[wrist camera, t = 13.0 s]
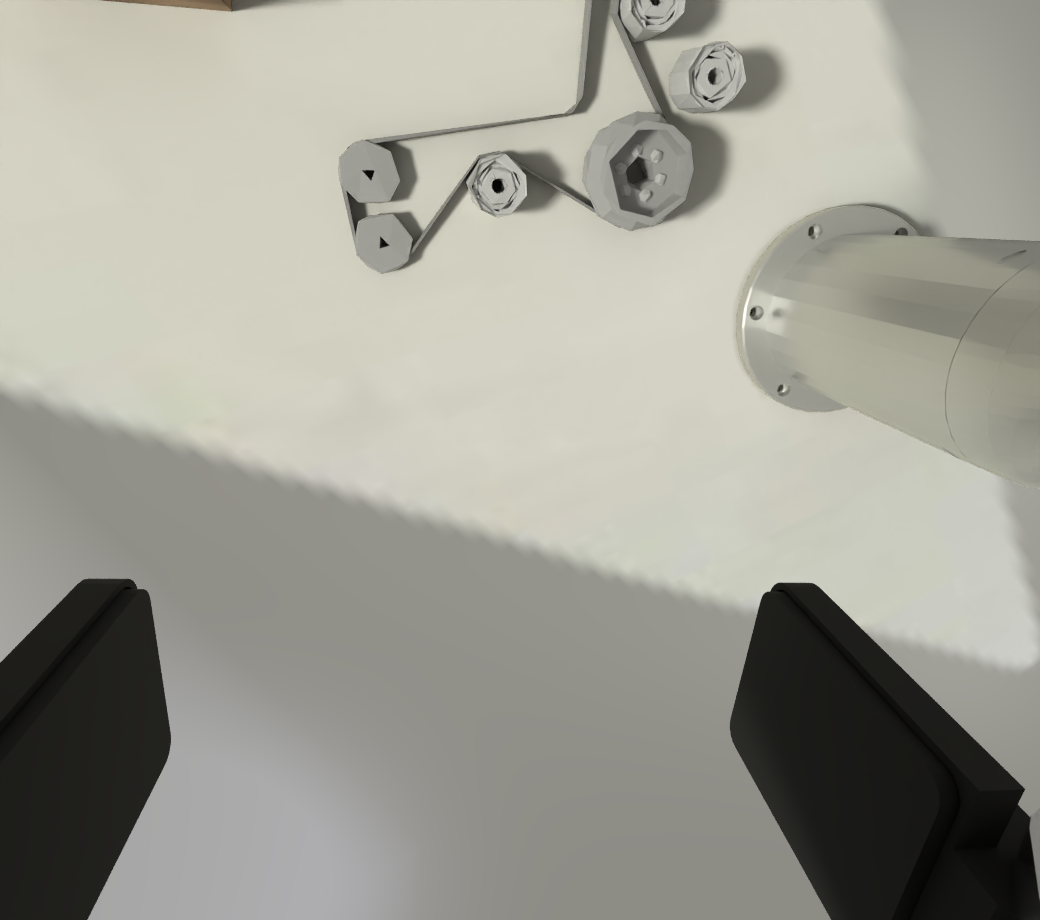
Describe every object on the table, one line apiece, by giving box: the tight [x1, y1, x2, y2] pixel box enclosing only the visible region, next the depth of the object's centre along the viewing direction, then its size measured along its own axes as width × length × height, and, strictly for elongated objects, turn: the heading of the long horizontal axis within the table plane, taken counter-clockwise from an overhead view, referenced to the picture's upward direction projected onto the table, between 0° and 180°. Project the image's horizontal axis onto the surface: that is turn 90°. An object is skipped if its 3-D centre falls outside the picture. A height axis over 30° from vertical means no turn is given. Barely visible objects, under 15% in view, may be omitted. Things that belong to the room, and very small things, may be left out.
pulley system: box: [338, 0, 746, 274], centre depth 33 cm, size 27×5×15 cm
